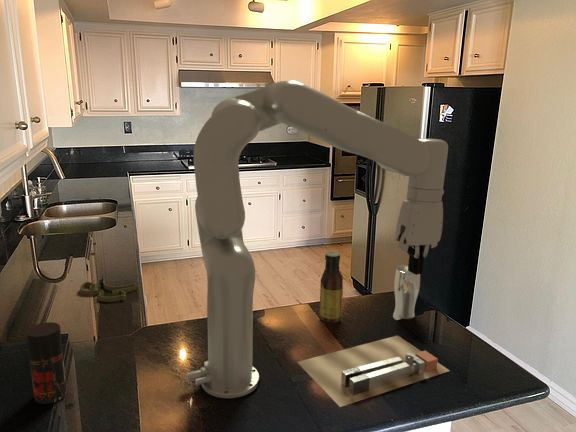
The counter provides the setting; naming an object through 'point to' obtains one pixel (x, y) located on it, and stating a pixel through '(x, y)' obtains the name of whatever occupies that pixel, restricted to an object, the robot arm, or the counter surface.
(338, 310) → the sauce bottle
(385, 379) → the base
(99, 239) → the counter surface
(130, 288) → the cookie cutter
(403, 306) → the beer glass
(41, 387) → the deodorant
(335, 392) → the board
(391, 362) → the tong jaw
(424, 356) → the tab
